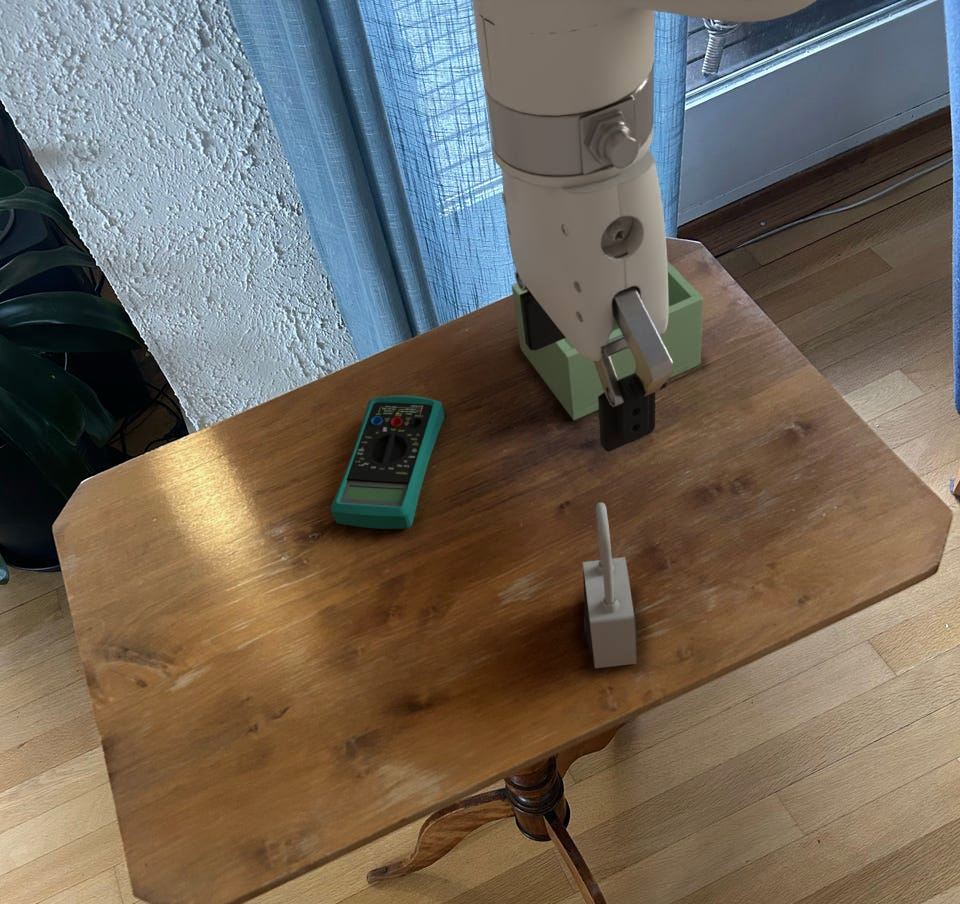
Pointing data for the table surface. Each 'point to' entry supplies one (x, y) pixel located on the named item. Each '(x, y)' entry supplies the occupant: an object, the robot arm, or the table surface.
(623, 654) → the padlock
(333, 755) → the table surface
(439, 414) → the digital multimeter
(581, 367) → the holder
